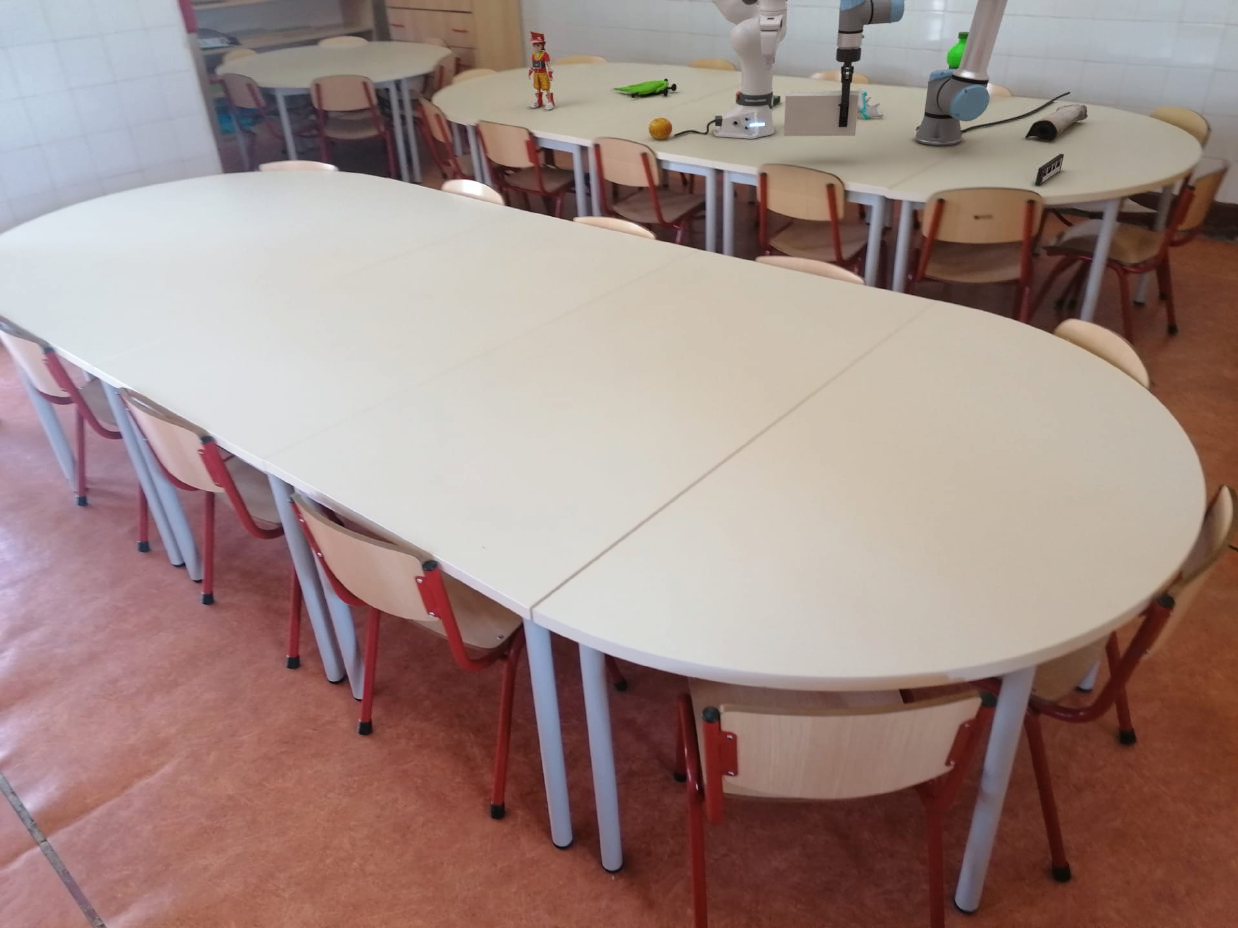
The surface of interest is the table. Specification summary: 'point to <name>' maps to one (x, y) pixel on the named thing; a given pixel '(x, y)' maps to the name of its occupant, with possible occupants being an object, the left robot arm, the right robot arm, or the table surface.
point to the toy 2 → (648, 88)
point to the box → (818, 113)
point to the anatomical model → (867, 106)
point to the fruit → (660, 128)
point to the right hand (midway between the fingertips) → (842, 123)
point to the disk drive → (776, 100)
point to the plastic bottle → (957, 51)
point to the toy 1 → (541, 71)
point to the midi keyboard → (1049, 169)
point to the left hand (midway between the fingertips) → (770, 67)
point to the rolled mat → (1057, 122)
